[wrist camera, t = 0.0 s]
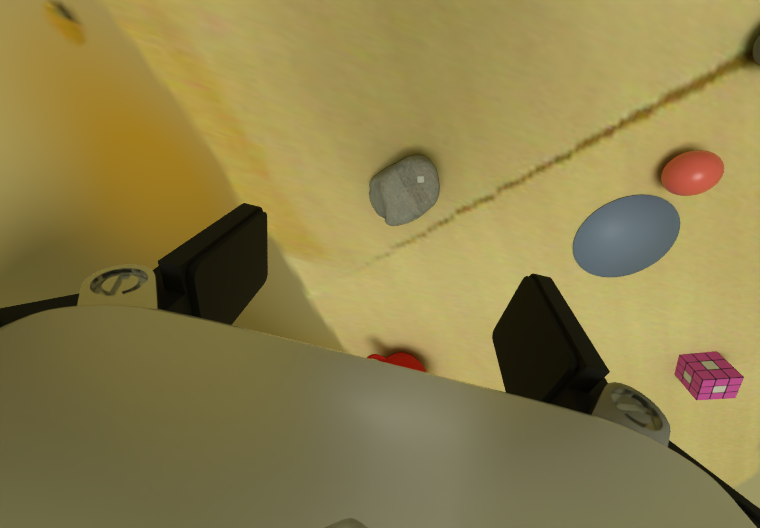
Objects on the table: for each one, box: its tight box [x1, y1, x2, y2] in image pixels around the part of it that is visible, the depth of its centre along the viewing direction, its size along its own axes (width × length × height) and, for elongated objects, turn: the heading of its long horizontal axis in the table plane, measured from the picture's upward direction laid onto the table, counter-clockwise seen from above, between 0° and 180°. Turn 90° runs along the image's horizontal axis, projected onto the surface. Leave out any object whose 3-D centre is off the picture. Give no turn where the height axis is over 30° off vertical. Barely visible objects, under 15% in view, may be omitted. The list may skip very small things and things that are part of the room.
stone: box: [369, 155, 440, 226], centre depth 44 cm, size 9×9×10 cm
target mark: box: [573, 195, 680, 277], centre depth 46 cm, size 14×14×1 cm
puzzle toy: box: [675, 352, 744, 400], centre depth 54 cm, size 6×6×6 cm
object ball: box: [661, 150, 724, 196], centre depth 38 cm, size 6×6×6 cm
